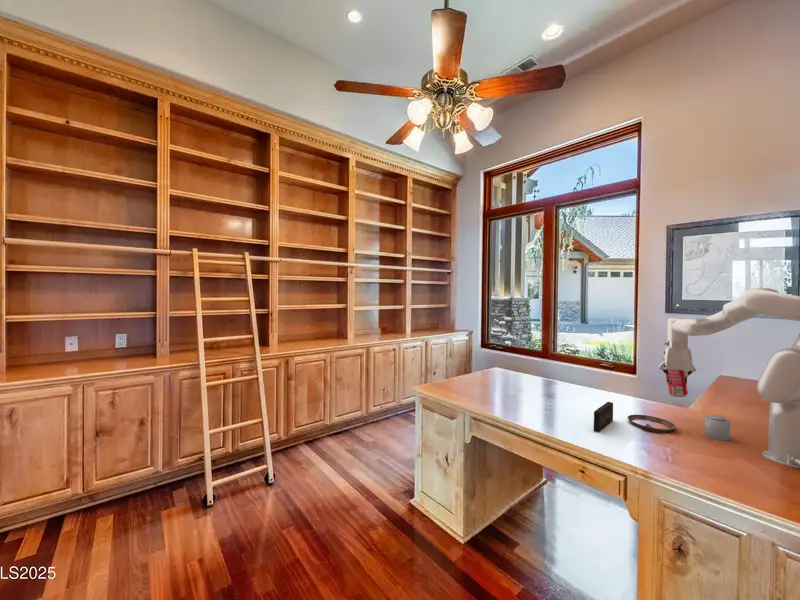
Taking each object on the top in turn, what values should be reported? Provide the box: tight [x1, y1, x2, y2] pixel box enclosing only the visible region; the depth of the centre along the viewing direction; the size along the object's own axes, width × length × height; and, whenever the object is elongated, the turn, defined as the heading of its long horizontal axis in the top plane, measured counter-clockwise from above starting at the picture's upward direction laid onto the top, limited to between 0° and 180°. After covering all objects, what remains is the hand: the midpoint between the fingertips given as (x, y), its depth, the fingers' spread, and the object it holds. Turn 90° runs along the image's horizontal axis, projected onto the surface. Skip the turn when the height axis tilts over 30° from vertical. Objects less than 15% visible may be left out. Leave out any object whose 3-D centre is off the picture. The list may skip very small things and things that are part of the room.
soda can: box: [665, 368, 689, 398], centre depth 160 cm, size 7×7×13 cm
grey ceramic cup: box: [704, 414, 732, 442], centre depth 146 cm, size 8×8×9 cm
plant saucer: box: [627, 414, 676, 434], centre depth 158 cm, size 18×18×3 cm
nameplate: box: [593, 401, 614, 433], centre depth 156 cm, size 21×2×10 cm, turn 134°
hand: (676, 384), depth 159 cm, fingers closed on soda can, 4 cm apart
